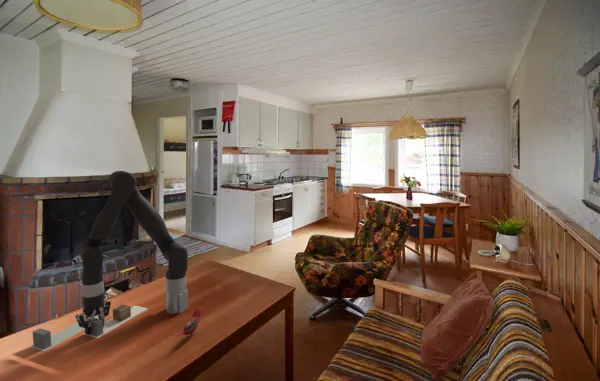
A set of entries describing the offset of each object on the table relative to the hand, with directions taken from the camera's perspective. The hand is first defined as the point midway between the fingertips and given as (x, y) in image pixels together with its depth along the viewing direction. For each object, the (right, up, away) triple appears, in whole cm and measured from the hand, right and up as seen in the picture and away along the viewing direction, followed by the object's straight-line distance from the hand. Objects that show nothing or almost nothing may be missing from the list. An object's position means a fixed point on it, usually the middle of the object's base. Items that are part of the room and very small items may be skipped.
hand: (95, 330), depth 126 cm
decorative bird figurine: (+39, -4, +1) cm, 39 cm away
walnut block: (+4, 0, +12) cm, 13 cm away
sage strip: (-11, -2, +2) cm, 11 cm away
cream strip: (+3, -1, +11) cm, 11 cm away
